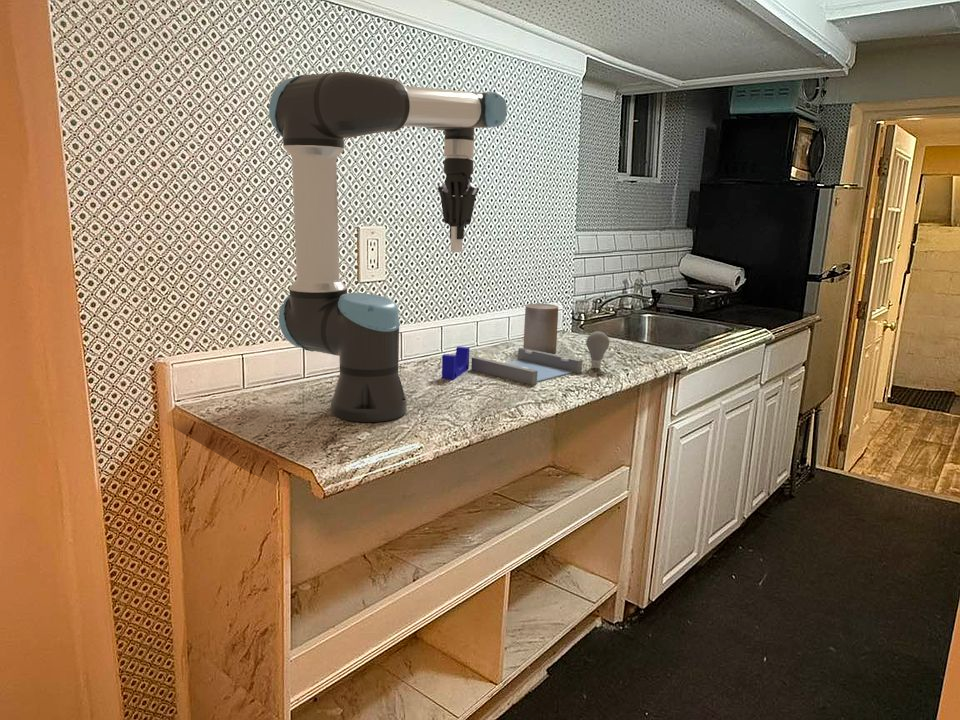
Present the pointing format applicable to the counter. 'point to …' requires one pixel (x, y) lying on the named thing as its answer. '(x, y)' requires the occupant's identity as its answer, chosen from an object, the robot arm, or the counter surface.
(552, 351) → the pillar candle
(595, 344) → the light bulb
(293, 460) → the counter surface
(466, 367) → the cable clip
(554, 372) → the blue panel with rails
